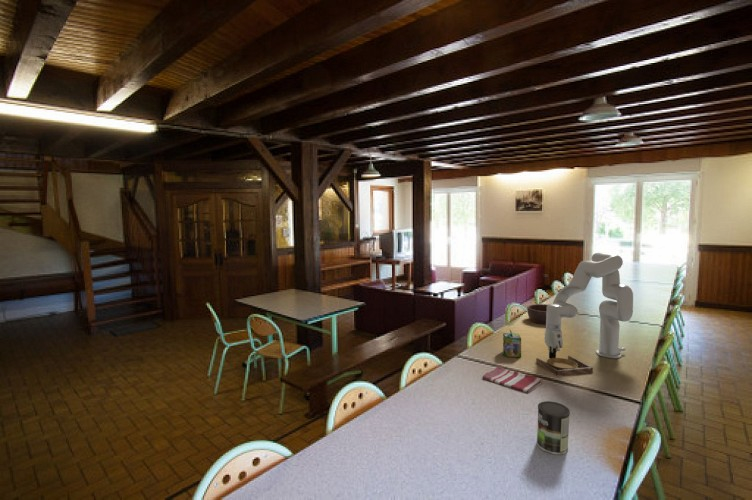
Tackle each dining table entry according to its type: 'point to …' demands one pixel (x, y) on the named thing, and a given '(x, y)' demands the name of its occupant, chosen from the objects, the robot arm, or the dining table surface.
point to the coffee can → (553, 427)
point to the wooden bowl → (537, 313)
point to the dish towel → (513, 379)
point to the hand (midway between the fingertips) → (552, 358)
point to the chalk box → (511, 345)
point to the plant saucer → (561, 363)
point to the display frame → (584, 369)
